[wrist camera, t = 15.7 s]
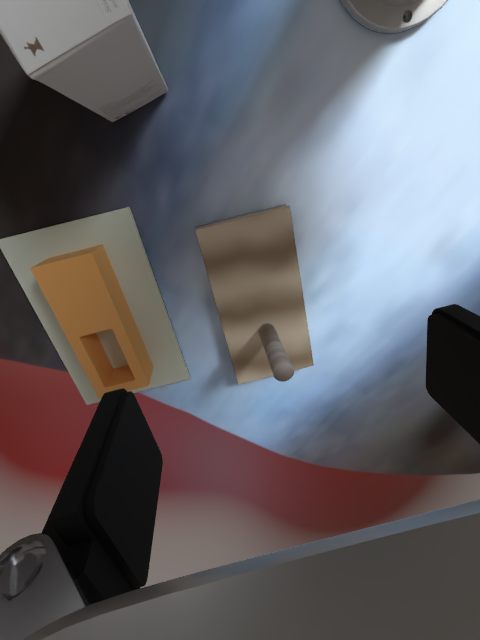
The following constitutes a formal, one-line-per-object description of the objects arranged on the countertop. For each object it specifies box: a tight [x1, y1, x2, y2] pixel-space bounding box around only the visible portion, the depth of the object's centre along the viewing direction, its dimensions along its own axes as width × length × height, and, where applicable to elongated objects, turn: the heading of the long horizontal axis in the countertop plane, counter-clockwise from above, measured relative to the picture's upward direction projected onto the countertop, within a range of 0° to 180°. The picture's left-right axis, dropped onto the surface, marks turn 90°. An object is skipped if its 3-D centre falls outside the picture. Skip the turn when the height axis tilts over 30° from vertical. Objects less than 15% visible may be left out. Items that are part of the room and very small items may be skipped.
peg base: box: [195, 205, 313, 384], centre depth 34 cm, size 20×10×11 cm, turn 13°
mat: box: [0, 207, 190, 405], centre depth 38 cm, size 22×14×1 cm, turn 13°
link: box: [30, 244, 154, 398], centre depth 36 cm, size 16×6×4 cm, turn 13°
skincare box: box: [0, 0, 168, 122], centre depth 21 cm, size 8×7×16 cm
